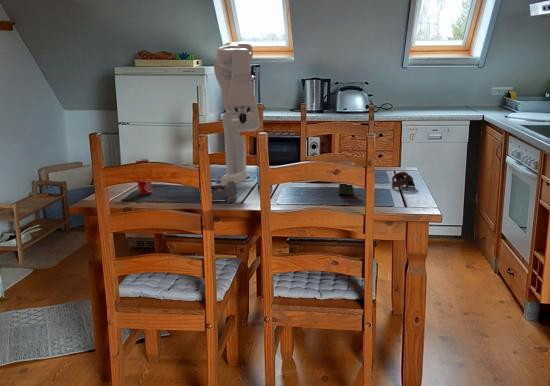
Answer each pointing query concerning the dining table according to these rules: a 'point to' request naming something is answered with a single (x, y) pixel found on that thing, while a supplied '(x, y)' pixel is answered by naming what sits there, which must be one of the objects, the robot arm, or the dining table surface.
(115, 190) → the dining table surface
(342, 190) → the character mug
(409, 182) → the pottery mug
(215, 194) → the cup
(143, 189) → the beverage can
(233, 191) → the catapult stand
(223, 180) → the seesaw trough
